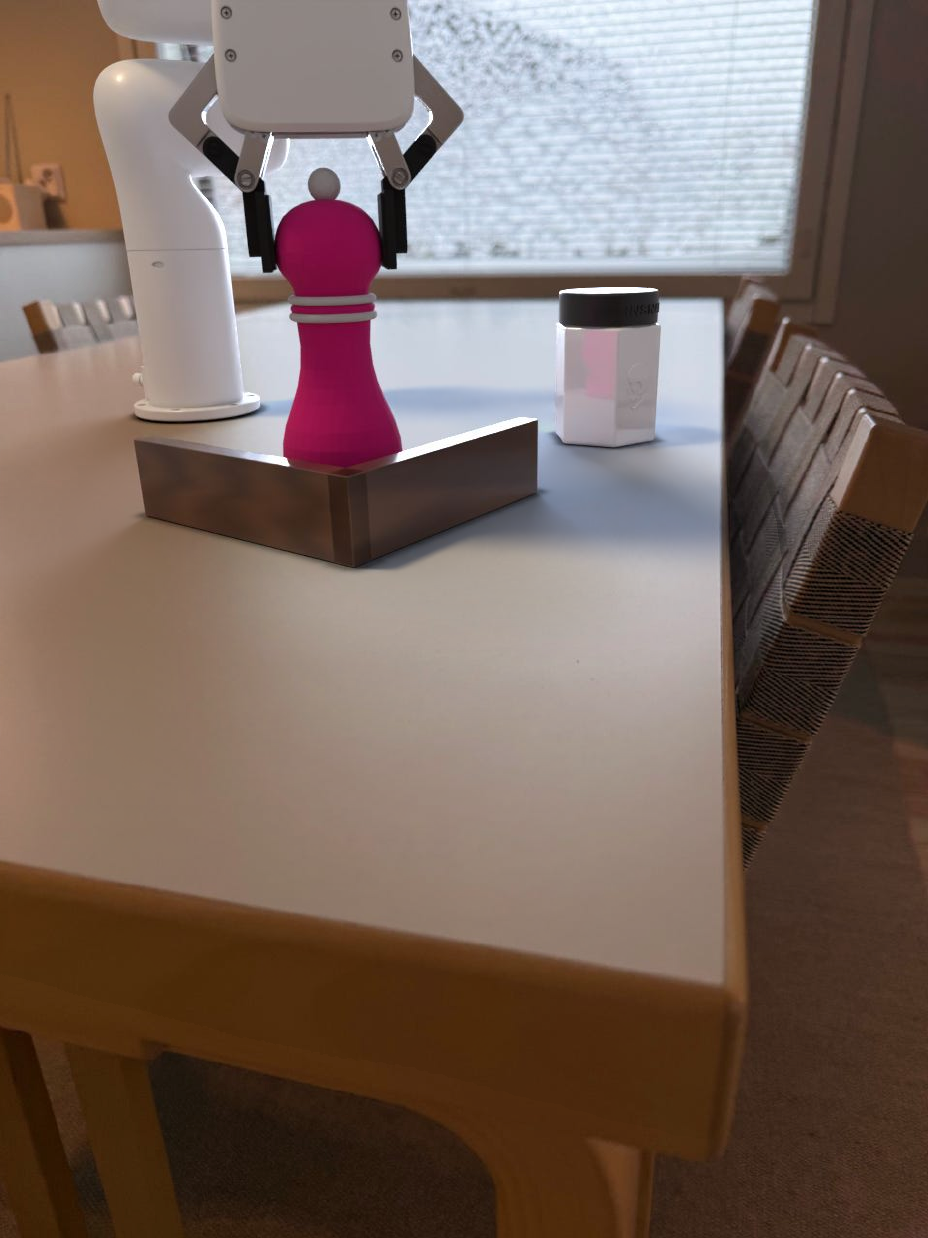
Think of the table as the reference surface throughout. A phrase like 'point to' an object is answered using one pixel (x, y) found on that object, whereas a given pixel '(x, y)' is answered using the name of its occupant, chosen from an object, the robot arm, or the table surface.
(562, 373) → the jar
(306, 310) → the pepper mill
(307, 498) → the corner stop
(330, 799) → the table surface
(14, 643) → the table surface
